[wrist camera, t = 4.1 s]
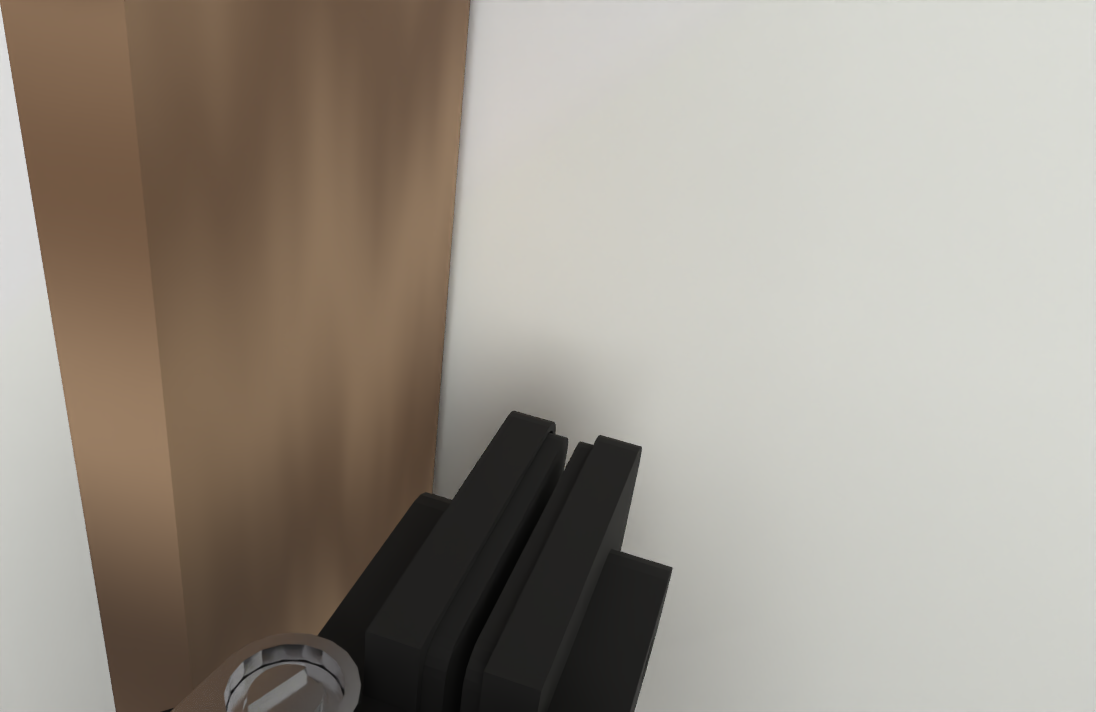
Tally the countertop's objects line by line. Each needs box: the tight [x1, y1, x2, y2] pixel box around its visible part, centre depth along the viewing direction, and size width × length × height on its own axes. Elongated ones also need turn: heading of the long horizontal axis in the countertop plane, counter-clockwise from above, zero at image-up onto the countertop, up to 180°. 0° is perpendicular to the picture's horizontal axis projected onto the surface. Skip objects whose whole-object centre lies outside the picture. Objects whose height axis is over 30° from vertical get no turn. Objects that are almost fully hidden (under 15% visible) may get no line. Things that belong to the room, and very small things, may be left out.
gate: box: [0, 0, 470, 712], centre depth 13 cm, size 18×2×8 cm, turn 173°
